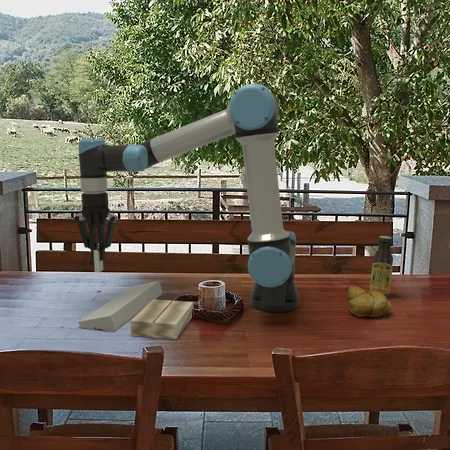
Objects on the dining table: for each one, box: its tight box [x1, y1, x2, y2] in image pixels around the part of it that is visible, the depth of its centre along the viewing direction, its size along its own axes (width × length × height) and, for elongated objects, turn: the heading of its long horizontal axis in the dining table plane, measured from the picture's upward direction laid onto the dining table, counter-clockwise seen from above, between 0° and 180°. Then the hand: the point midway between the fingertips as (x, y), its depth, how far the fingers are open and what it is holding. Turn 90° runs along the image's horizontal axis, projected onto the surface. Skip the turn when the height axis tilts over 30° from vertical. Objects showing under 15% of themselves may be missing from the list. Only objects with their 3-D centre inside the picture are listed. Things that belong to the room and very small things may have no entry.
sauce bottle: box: [369, 235, 394, 298], centre depth 164 cm, size 7×6×20 cm
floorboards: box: [130, 299, 194, 340], centre depth 139 cm, size 12×18×4 cm, turn 169°
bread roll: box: [346, 284, 393, 318], centre depth 149 cm, size 13×10×8 cm
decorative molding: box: [77, 280, 163, 333], centre depth 152 cm, size 34×5×10 cm
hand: (99, 270), depth 152 cm, fingers closed
